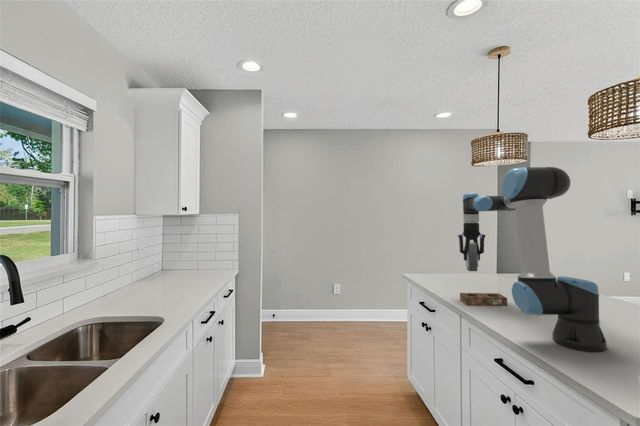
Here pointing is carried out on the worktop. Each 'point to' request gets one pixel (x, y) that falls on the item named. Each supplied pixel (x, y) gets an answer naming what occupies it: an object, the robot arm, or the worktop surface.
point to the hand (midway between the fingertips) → (472, 266)
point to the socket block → (483, 299)
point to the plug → (472, 256)
